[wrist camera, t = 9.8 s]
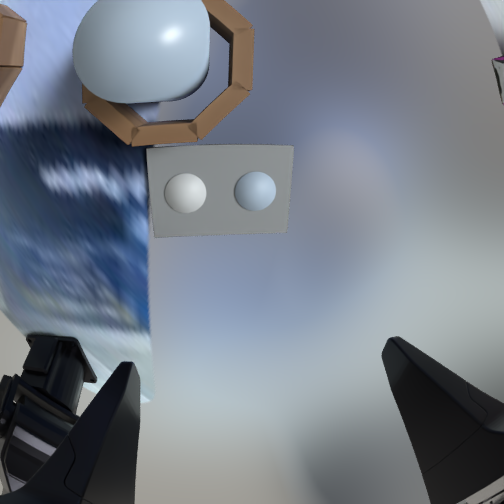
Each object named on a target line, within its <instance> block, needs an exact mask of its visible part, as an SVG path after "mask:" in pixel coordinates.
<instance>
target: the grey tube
mask: <svg viewBox="0 0 504 504" xmlns="http://www.w3.org/2000/svg"><path fill="white" fill-rule="evenodd" d="M209 48H210V21H209V16H208V13H207V10H206V8H205V6H204V4H203V2H202V1H201V0H98V1H97V2H96V3H95V4H94V5H93V6H92V7H91V8H90V9H89V11H88V12H87V13H86V15H85V16H84V18H83V19H82V21H81V23H80V25H79V27H78V29H77V32H76V34H75V38H74V42H73V63H74V67H75V70H76V73H77V75H78V77H79V79H80V80H81V82H82V83H83V85H84V86H85V87H86V88H87V89H88V90H89V91H91V92H92V93H93V94H95V95H96V96H98V97H100V98H102V99H105V100H108V101H112V102H117V103H141V102H162V101H176V100H181V99H183V98H186V97H188V96H190V95H191V94H193V93H194V92H195V91H197V90H198V89H199V88H200V86H201V85H202V84H203V82H204V81H205V79H206V77H207V74H208V70H209Z"/></svg>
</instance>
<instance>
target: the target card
mask: <svg viewBox="0 0 504 504" xmlns="http://www.w3.org/2000/svg"><path fill="white" fill-rule="evenodd" d="M146 150H147V166H148V179H149V191H150V202H151V211H152V220H153V229H154V237H155V238H162V237H182V236H208V235H235V234H263V233H287V228H288V216H289V205H290V192H291V180H292V167H293V153H294V146H293V145H272V144H209V145H183V146H167V147H152V148H147V149H146Z"/></svg>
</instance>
